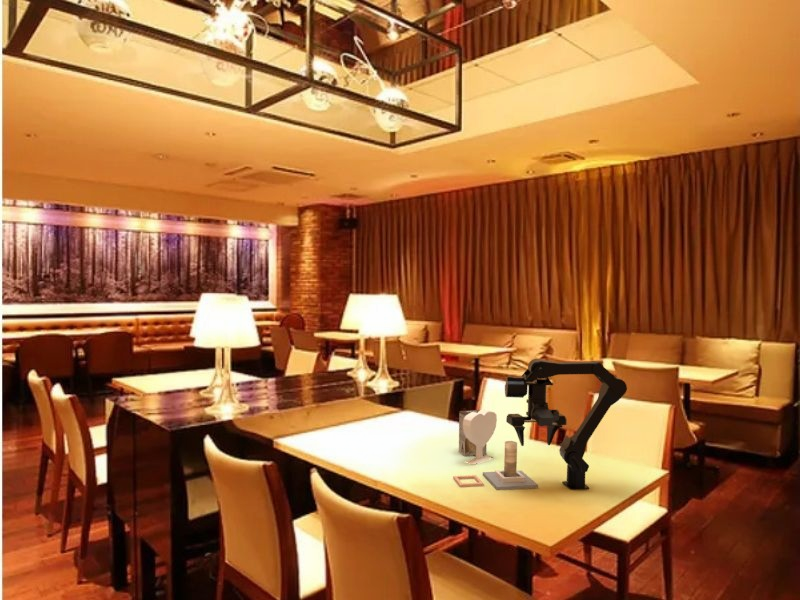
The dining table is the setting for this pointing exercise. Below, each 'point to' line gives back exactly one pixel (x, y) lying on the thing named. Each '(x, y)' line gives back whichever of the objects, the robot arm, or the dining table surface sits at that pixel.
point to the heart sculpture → (479, 431)
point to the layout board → (509, 480)
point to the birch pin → (510, 459)
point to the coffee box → (464, 444)
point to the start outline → (468, 483)
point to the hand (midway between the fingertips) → (535, 445)
